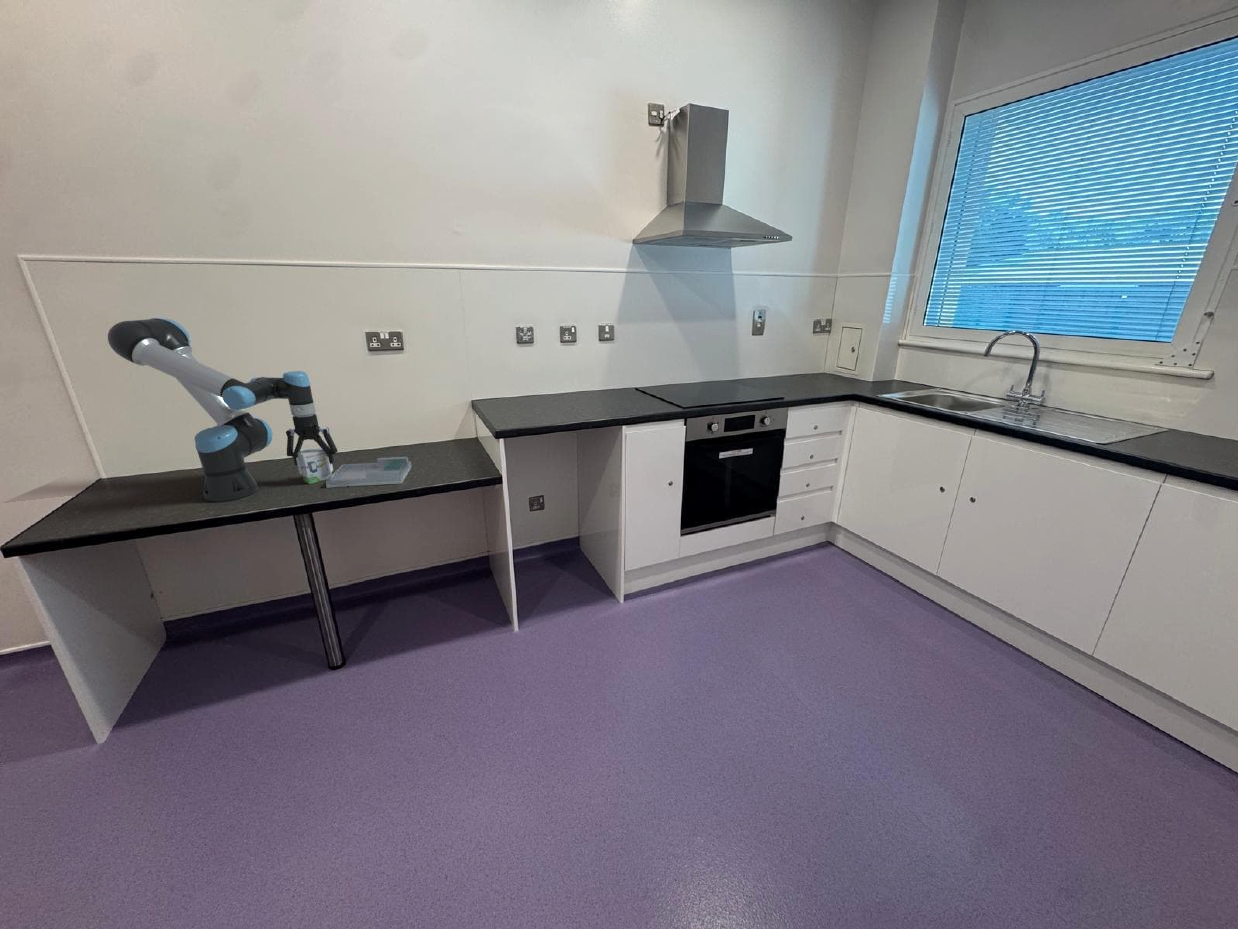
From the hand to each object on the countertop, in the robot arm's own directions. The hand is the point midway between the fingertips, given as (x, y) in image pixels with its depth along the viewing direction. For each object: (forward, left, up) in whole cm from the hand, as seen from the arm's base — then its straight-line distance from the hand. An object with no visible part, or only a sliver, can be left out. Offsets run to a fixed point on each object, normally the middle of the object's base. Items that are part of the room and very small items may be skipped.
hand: (316, 472), depth 187 cm
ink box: (0, 0, -3) cm, 3 cm away
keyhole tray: (+19, 0, -3) cm, 19 cm away
